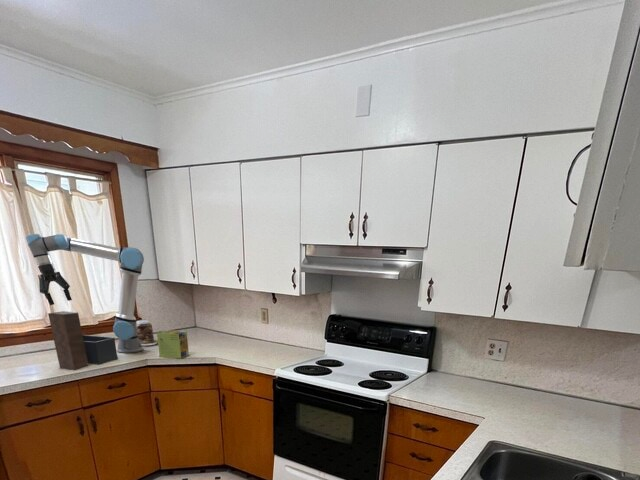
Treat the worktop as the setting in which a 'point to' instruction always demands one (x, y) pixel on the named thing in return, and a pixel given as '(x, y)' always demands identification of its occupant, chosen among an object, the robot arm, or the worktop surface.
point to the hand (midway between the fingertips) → (61, 302)
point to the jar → (145, 331)
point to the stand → (68, 340)
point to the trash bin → (99, 349)
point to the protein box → (172, 344)
